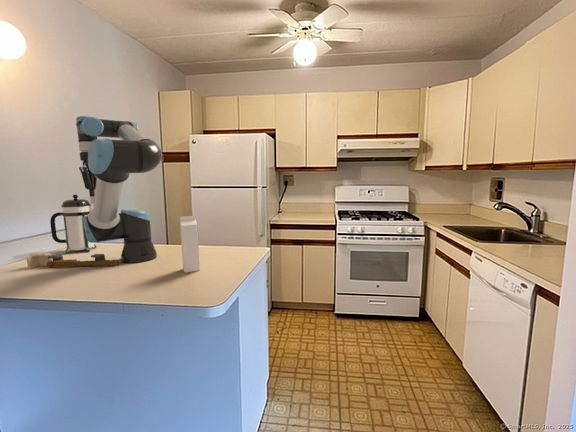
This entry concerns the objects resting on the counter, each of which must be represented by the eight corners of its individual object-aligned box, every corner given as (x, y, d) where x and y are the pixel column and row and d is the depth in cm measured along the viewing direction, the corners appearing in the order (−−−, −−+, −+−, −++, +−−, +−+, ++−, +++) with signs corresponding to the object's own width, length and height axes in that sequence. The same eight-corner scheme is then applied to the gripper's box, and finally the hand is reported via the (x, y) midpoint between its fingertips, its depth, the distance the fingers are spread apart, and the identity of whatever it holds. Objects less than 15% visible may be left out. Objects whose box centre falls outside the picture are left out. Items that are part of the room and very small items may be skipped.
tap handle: (114, 260, 135) (44, 261, 135) (115, 267, 135) (45, 268, 135) (118, 258, 138) (50, 259, 138) (118, 265, 138) (50, 266, 138)
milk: (200, 270, 126) (196, 216, 123) (184, 272, 123) (180, 217, 120) (197, 266, 131) (194, 214, 128) (182, 268, 129) (179, 215, 126)
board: (113, 262, 142) (112, 249, 141) (102, 267, 133) (100, 254, 133) (42, 263, 143) (41, 251, 142) (26, 269, 134) (25, 255, 134)
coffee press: (89, 246, 178) (83, 193, 174) (102, 249, 168) (97, 193, 165) (53, 252, 164) (46, 195, 160) (65, 256, 155) (58, 196, 151)
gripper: (90, 153, 150) (95, 202, 153) (71, 151, 137) (77, 204, 140) (105, 152, 150) (110, 202, 153) (87, 150, 137) (93, 204, 140)
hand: (94, 203), depth 146 cm, fingers closed
